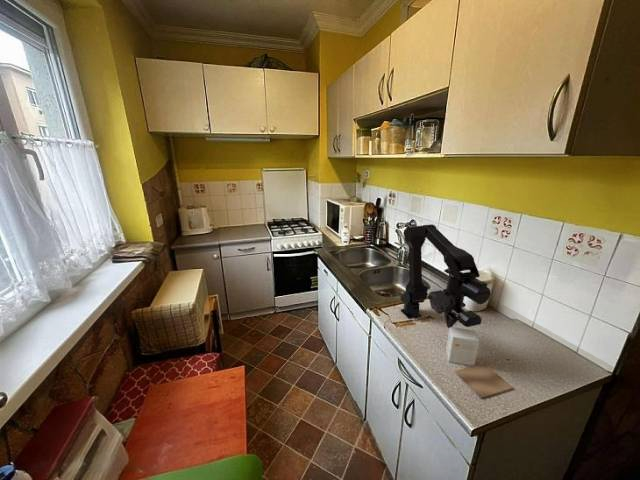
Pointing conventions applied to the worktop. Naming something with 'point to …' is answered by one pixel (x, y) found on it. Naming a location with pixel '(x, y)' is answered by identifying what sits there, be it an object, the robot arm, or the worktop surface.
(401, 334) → the worktop surface
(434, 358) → the worktop surface
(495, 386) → the brown coaster
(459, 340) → the small box
